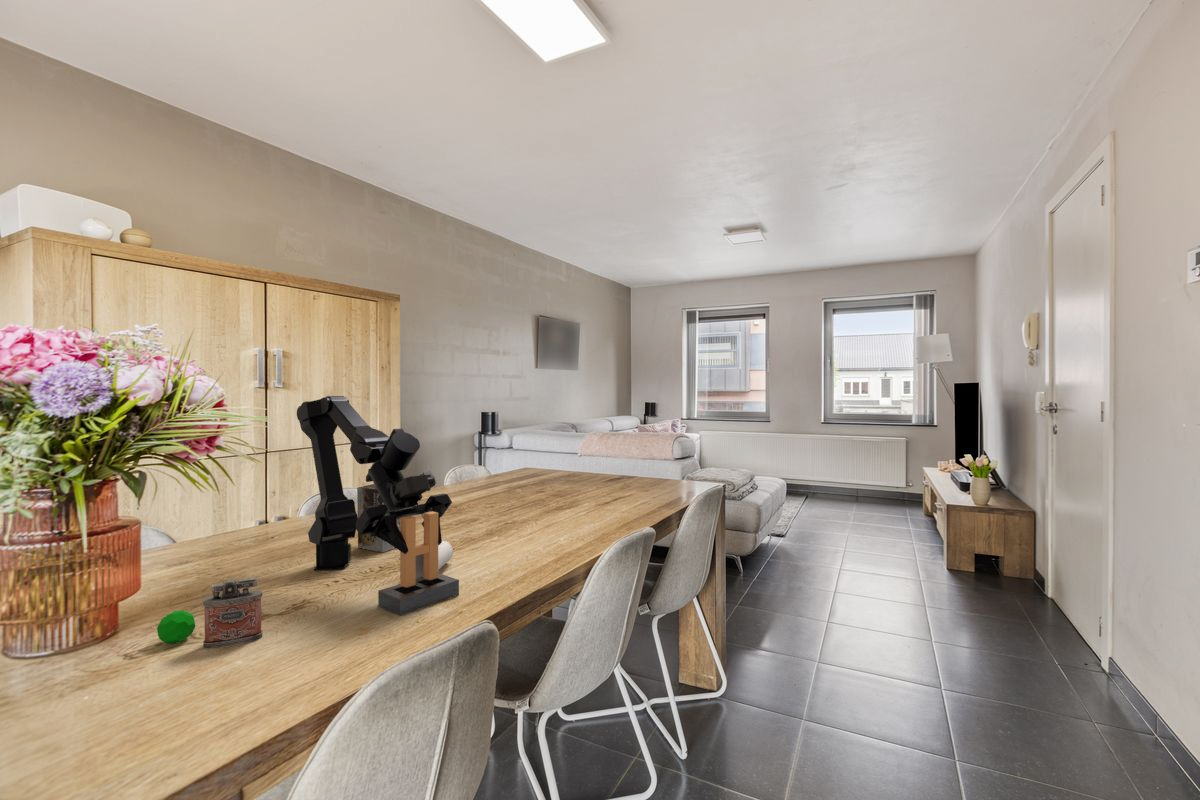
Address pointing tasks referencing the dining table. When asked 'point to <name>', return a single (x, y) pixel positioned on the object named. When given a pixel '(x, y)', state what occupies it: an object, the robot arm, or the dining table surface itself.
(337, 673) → the dining table surface
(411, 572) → the orange letter h block
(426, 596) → the grey slotted base block
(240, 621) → the lighter
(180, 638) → the polyhedron
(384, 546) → the coffee box
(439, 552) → the drinking glass
